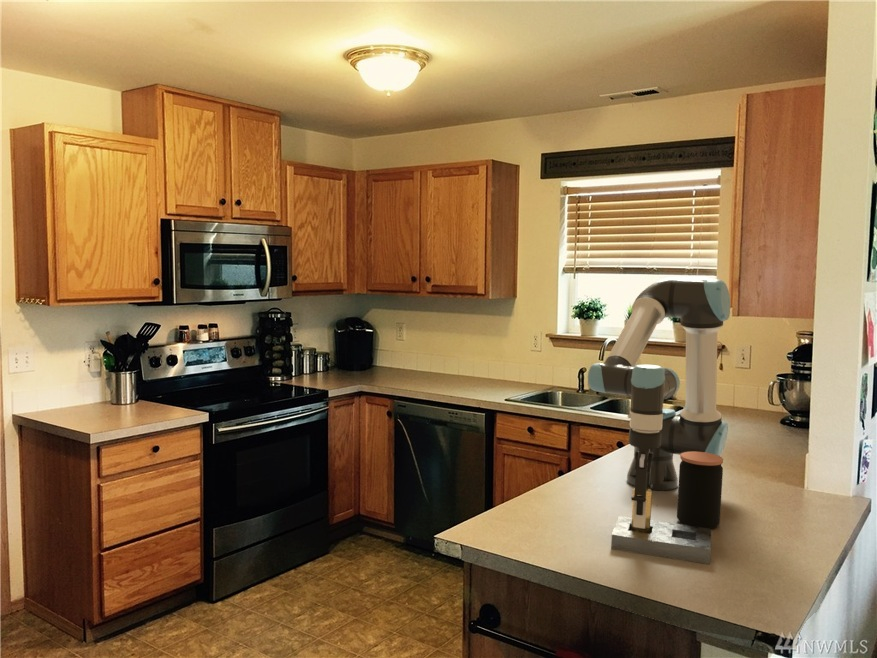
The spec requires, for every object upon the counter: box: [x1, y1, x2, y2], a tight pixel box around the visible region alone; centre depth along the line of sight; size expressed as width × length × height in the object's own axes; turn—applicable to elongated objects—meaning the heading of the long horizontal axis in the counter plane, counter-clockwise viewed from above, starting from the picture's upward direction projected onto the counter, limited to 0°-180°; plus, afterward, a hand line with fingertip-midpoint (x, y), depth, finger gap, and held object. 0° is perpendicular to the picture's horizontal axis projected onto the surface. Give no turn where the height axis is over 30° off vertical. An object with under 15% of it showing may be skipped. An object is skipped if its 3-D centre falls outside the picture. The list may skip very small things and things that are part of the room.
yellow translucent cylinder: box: [631, 487, 653, 534], centre depth 174 cm, size 4×4×13 cm
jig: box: [610, 515, 712, 565], centre depth 173 cm, size 14×22×4 cm, turn 69°
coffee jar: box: [676, 451, 724, 530], centre depth 188 cm, size 11×11×18 cm
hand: (641, 520), depth 174 cm, fingers open, 9 cm apart
